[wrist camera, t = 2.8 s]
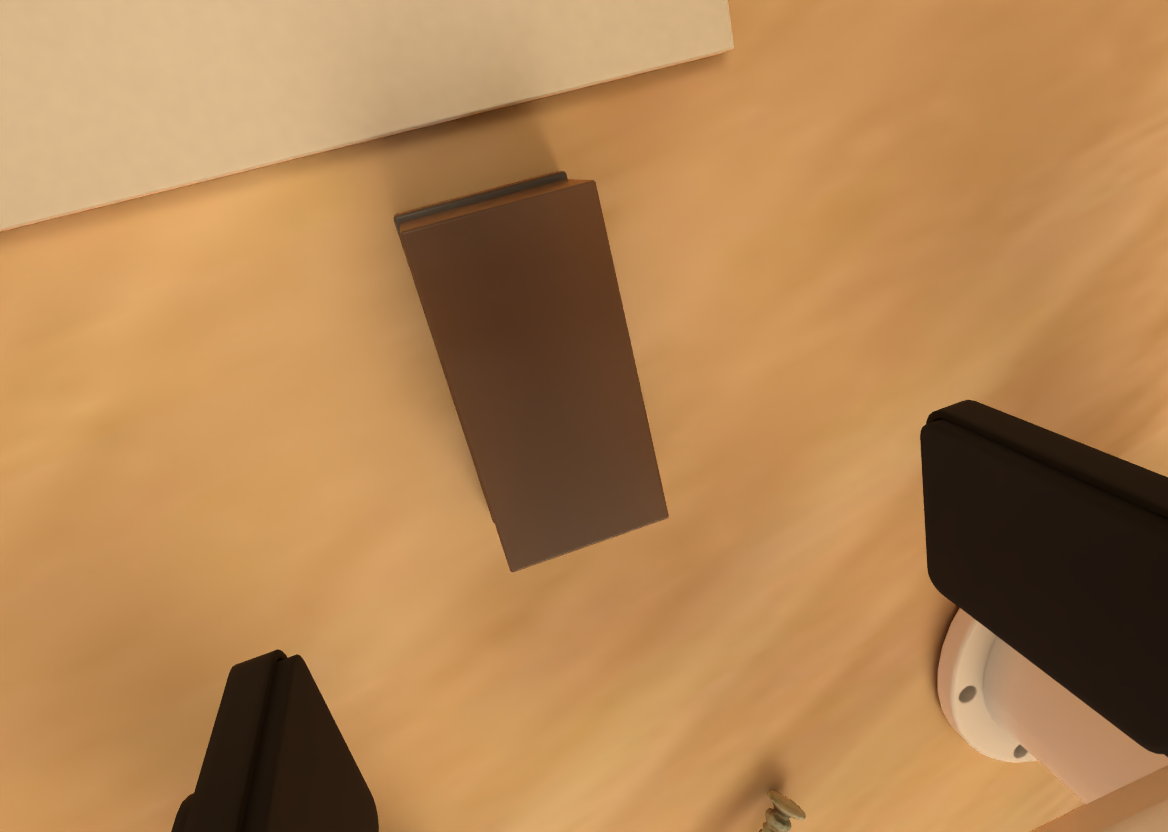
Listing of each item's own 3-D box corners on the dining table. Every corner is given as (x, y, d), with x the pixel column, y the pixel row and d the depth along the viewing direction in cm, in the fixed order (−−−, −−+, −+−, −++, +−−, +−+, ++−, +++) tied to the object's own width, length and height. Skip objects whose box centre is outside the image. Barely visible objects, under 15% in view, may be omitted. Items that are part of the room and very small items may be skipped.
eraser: (559, 170, 21) (597, 169, 17) (630, 468, 24) (673, 523, 21) (392, 214, 20) (392, 224, 16) (491, 514, 24) (509, 580, 20)
